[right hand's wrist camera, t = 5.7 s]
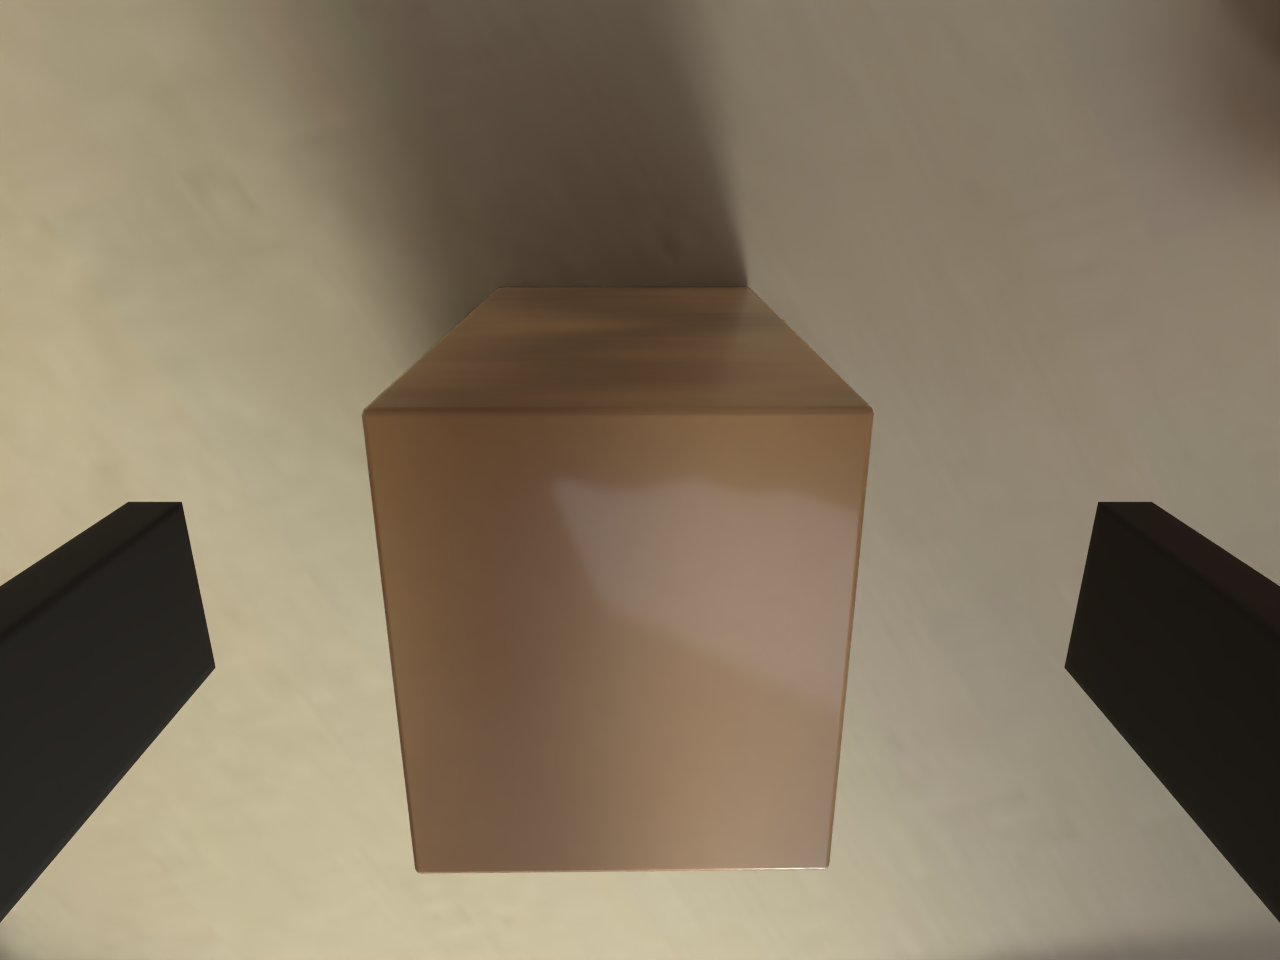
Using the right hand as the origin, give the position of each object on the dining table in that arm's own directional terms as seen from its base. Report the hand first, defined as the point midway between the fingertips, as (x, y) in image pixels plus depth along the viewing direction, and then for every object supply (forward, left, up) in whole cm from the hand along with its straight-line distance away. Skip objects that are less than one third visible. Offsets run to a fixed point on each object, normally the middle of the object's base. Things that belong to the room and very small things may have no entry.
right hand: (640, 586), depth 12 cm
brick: (0, 0, -8) cm, 8 cm away
